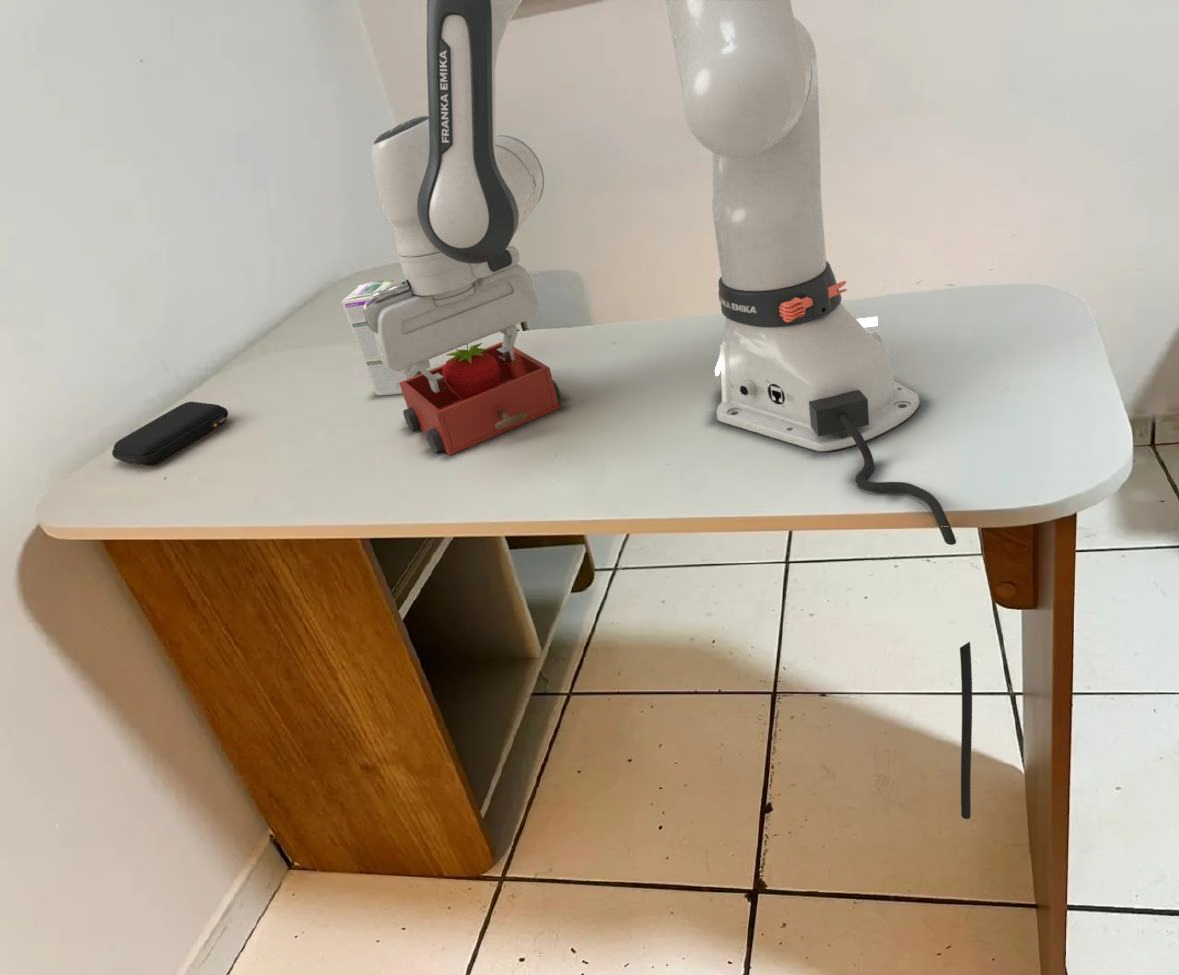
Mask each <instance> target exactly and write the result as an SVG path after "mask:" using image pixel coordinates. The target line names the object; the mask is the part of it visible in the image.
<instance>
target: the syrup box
mask: <svg viewBox="0 0 1179 975" xmlns="http://www.w3.org/2000/svg"><path fill="white" fill-rule="evenodd" d="M396 284H397V283H396V280H394V279H388V280H387V279H386V280H385V279H384V280H377V281H370V282H367V283H363V284H359V285H357V288H355V289H354V290H353V291H352V292H351V293H349V295H347V296H346V297H344V298H343V299H342V300H341V304H342V306H343V309H344V311H345V314H346V317H347V320H348V323H349V325H350V328H351V330H352V334H353V337H354V339H355V342H356V344H357V348H358V350H359V352H360V355H361V358H362V360H363V363H364V365H365V366H364V367H365V368H366V371H367V374H368V377H369V379H370V382H371V386H372V387H373V390H374V393H375V395H376V396H391V395H392V396H393V395H401V394H402V395H403V393H402V390H401V387H400V384H399V383H400V382H402V381H404V380H407V379H409V378H412V377H414V376H417V375H419V374H422V373H421V372H420V371H418V370H417V369H416V368H415V367H414V365H413V366H411V367H408V368H406V369H403V370H401V371H394V370H392V369H390V368H388V367H386V366H385V365H384V364H383V363H382V361H381V360H380V357H379V353H378V350H377V346H376V342H375V337H374V332H373V331H372V330H371V329H370V328H369V327H368V325H367V322H366V319H365V316H364V305H365V303H366V302H367V300H368V299H370V298H371V295H372V294H373V293H375V292H377V291H380V290H382V291H383V290H386V289H388V288H390V287H392V286H394V285H396ZM372 303H374V302H373V301H372V302H371V303H370V304H372Z"/></svg>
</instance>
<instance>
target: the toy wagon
mask: <svg viewBox="0 0 1179 975" xmlns="http://www.w3.org/2000/svg"><path fill="white" fill-rule="evenodd" d="M502 343H503V341H501V342H499V343H495V344H493V345H491V346H488V347H486V348H485V347H484V349H489V350H486V351H483V353H487V354H489V355H491V356H492V357H494V358H495V359H496V361H497V363H498V365H499V367H500V381H499V384H498V386H497V387H495V388H492V389H490V390H487V391H485V392H483V393H480V394H478V395H475V396H473V397H470V398H468V399H466V400H463V401H462V400H461V399H460V398H459V397H457V396H456V395H455V394H454V393H453V392H452V391H451V390H450V389H449V387H448V386H447V384H446V383H444V384H446V387H447V389H444V390H442V391H440V392H438V393H435V392H433V391H432V389H431V387H430V384H429V381H428V378H427V377H425V376H424V375H423V374H419V375H417V376H414V377H412V378H409V379H407V380H404V381H402V382H400V383H399V384H400V387H401V390H402V396H403V399H404V402H405V404H406V407H407V408H406V409H403V411H402V413H403V414H402V415H403V417H404V420H405V422H406V424H407V426H408V428H409V429H410V430H411V431H412V432H413V431H416V430H418V429H420V430H421V431H422V432H423V433H424V434H425V436H426V439H427V442H428V444H429V446H430V448H431V449H432V451H433V452H434V453H436V454H437V453H439V452H441V451H444V452H445V453H446V454H447V455H448V456H453V455H455V454H457V453H459V452H462V451H464V450H466V449H469V448H471V447H473V446H476V445H478V444H480V443H483V442H485V441H487V440H489V439H492V438H494V437H497V436H499V435H501V434H504V433H506V432H508V431H511V430H513V429H515V428H518V427H520V426H522V425H524V424H526V423H529V422H531V421H534V420H536V419H538V418H541V417H544V416H545V415H547V414H550V413H553V412H554V411H556V410H559V409H560V404H559V401H560V400H561V397H562V396H561V392H560V389H559V386H558V384H557V383H556V381H554V380H553V376H552V372H551V367H549V366H548V365H547V364H545V363H543V362H541V361H539V360H537V359H535V358H534V357H532V356H530V355H529V354H527V353H525V352H523V351H522V350H520V349H518V348H516V347H515V346H514V347H513V348H512V349H513V352H514V356H515V361H513V362H511V363H508V364H506V365H504V364H503V363H501V362H500V360H499V355H498V353H497V350H496V349H498V348H501V347H502ZM444 365H445V364H443V365H440V366H438V367H435V368H432V369H430V370H428V371H429V372H430V373H431V374H432V375H434V374H436V373H439V374H440V375H442V376H443V372H442V369H443V367H444Z"/></svg>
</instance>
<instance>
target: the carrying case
mask: <svg viewBox="0 0 1179 975" xmlns="http://www.w3.org/2000/svg"><path fill="white" fill-rule="evenodd" d="M228 416H229V411H228V409H227V408H226V407H224V406H221V405H219V404H216V403H208V402H199V401H187V402H184V403H182V404H180V405H178V406H176V407H175V408H173V409H171V410H169V411H167V412H165V413H164V414H162V415H160V416H159V417H156V418H154V419H153V420H151V421H149V422H148V423H146V424H145V425H143V426H141V427H139V428H138V429H135V430H133V431H132V432H131V433H129V434H128V435H125V436H124V437H122V438H119V440H117V441H116V442H115V443H114V445H113V449H112V450H111V451H112V452H111V456H112V457H113V458H114V459H115V460H118V461H122V462H124V463H130V464H136V465H141V466H146V467H147V466H148V467H154V466H157V465H159V464H161V463H162V462H165V461H166V460H168V459H170V458H171V457H172V456H174V455H177V454H179V453H180V452H181V451H183V450H184V449H186V448H187V447H189V446H191V445H192V444H194V443H196V442H198V441H199V440H201V439H202V438H204V437H206V436H208V435H209V434H210V433H213V432H214V431H215V430H217V429H218V428H220V427H221V426H223V425H224V424H225V423H226V422H227V420H228Z"/></svg>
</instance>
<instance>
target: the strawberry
mask: <svg viewBox="0 0 1179 975" xmlns="http://www.w3.org/2000/svg"><path fill="white" fill-rule="evenodd" d="M482 344H483V342H480V343H477V344H474V345H471V346H470V347H469V344H466V349H458V348H456V349H455V351H452V352H450V353H447V354H446V353H445V354H446V356H448V357H449V356H451V358H449V359H448V360H446V361H445V363H444V364H443V365H444V367H443V369H442V372H443V377H444V380H445V383H446V384H447V386H448V387H449V389H450V390H451V391H452V392H453V393H454V394H455V395H456V396H457V397H459V398H460V399H461V400H462V401H463V400H466V399H468V398H470V397H473V396H475V395H478V394H480V393H483V392H485V391H487V390H490V389H492V388H495V387H497V386H498V384H499V381H500V367H499V365H498V363H497V361H496V359H495V358H494V357H492V356H491V355H489V354H487V353H483V351H486V350H489V349H485V348H481V347H480V346H482Z"/></svg>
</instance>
